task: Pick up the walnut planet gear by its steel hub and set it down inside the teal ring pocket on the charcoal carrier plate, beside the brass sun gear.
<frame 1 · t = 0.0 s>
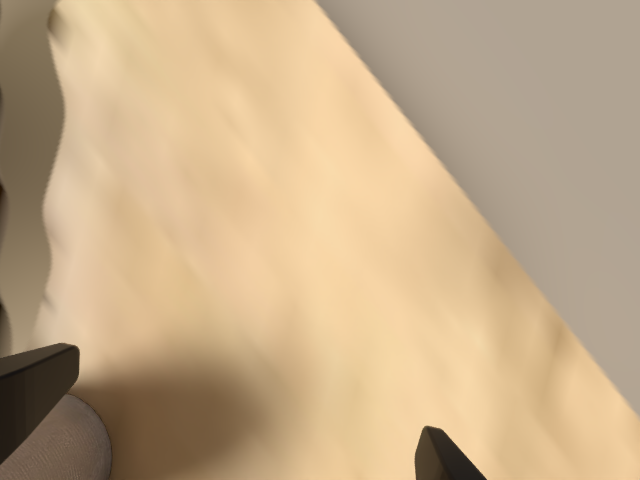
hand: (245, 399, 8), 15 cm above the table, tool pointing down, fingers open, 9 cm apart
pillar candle: (52, 452, 25), on the table
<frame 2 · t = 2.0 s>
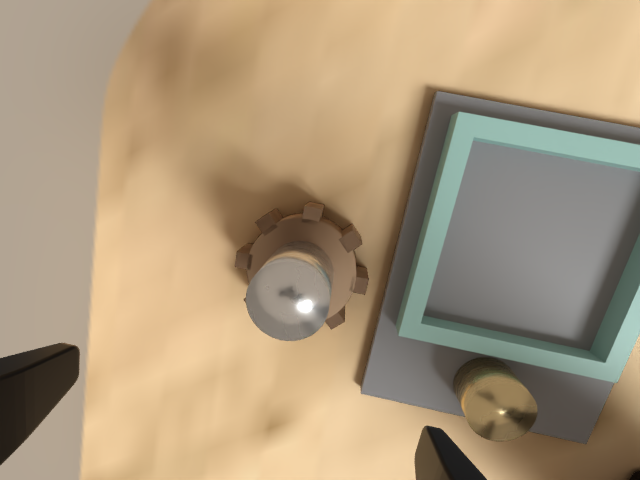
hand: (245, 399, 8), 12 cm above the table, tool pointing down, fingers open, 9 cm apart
planet gear: (305, 262, 20), on the table
carrier plate: (513, 280, 19), on the table
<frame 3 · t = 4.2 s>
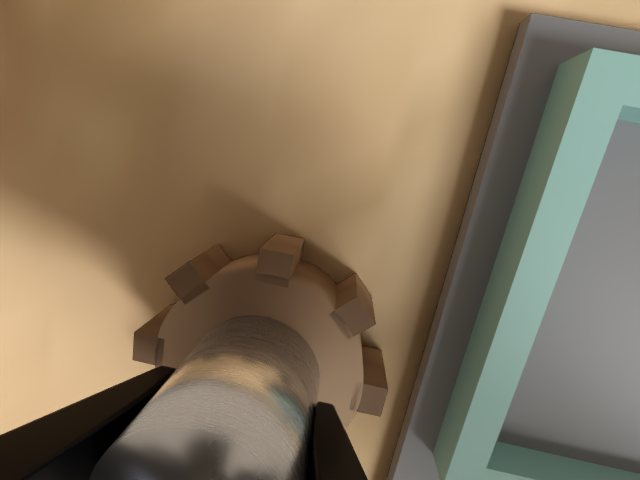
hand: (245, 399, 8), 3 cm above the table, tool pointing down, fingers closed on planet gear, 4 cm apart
planet gear: (272, 338, 11), on the table, touching gripper
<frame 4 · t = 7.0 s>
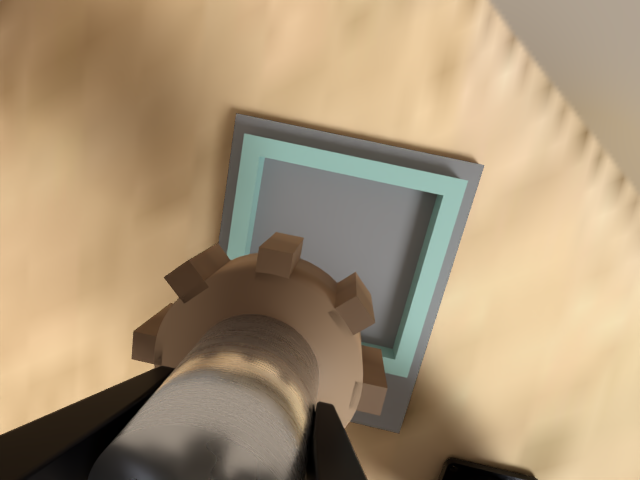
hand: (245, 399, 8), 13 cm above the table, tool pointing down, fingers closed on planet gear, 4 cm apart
planet gear: (272, 337, 11), point 10 cm above the table, touching gripper
carrier plate: (325, 284, 21), on the table
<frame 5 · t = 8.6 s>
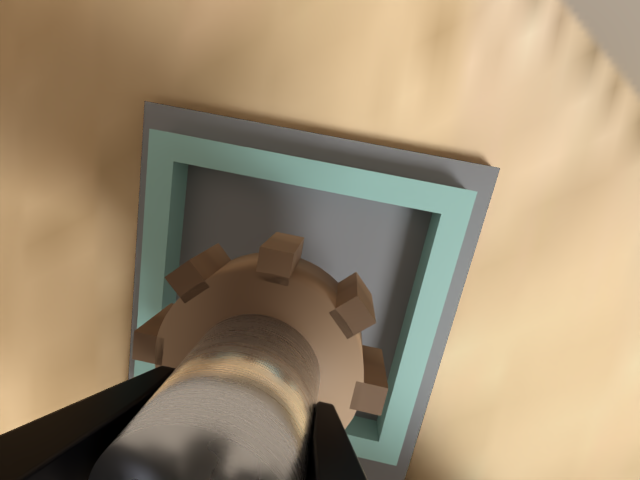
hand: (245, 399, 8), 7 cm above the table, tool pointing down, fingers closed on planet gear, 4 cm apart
planet gear: (272, 337, 11), point 4 cm above the table, touching gripper
carrier plate: (284, 333, 15), on the table
when the fingers open (4 cm above the table, at t = 10.0 s): planet gear stays where it is, resting on carrier plate.
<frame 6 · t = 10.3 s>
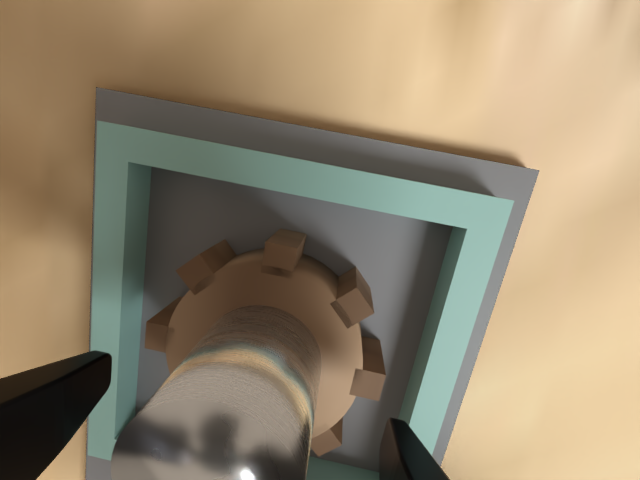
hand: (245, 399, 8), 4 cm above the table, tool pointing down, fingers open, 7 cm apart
planet gear: (276, 329, 12), point 1 cm above the table, touching carrier plate
carrier plate: (271, 368, 13), on the table
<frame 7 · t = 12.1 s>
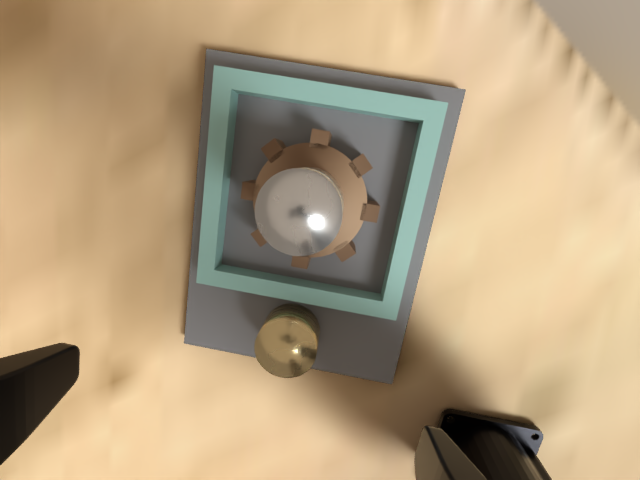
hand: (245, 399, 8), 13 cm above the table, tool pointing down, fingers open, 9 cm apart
planet gear: (313, 198, 19), point 1 cm above the table, touching carrier plate
carrier plate: (308, 229, 20), on the table
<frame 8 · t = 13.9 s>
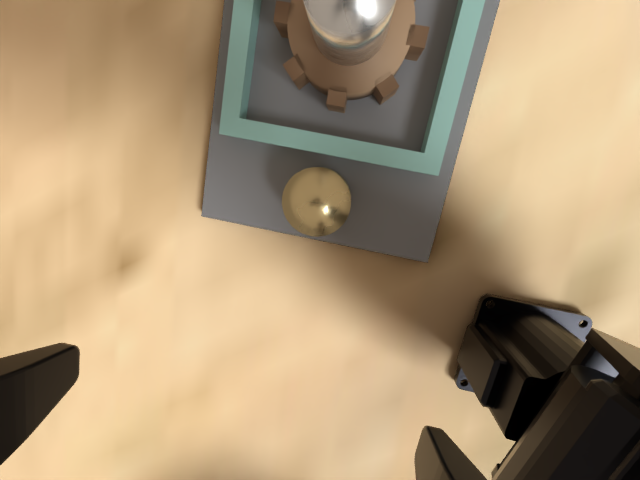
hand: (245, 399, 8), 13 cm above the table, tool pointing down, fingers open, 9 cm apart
planet gear: (350, 39, 18), point 1 cm above the table, touching carrier plate
carrier plate: (342, 83, 19), on the table
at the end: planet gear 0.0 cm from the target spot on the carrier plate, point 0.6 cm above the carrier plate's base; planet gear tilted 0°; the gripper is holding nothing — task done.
